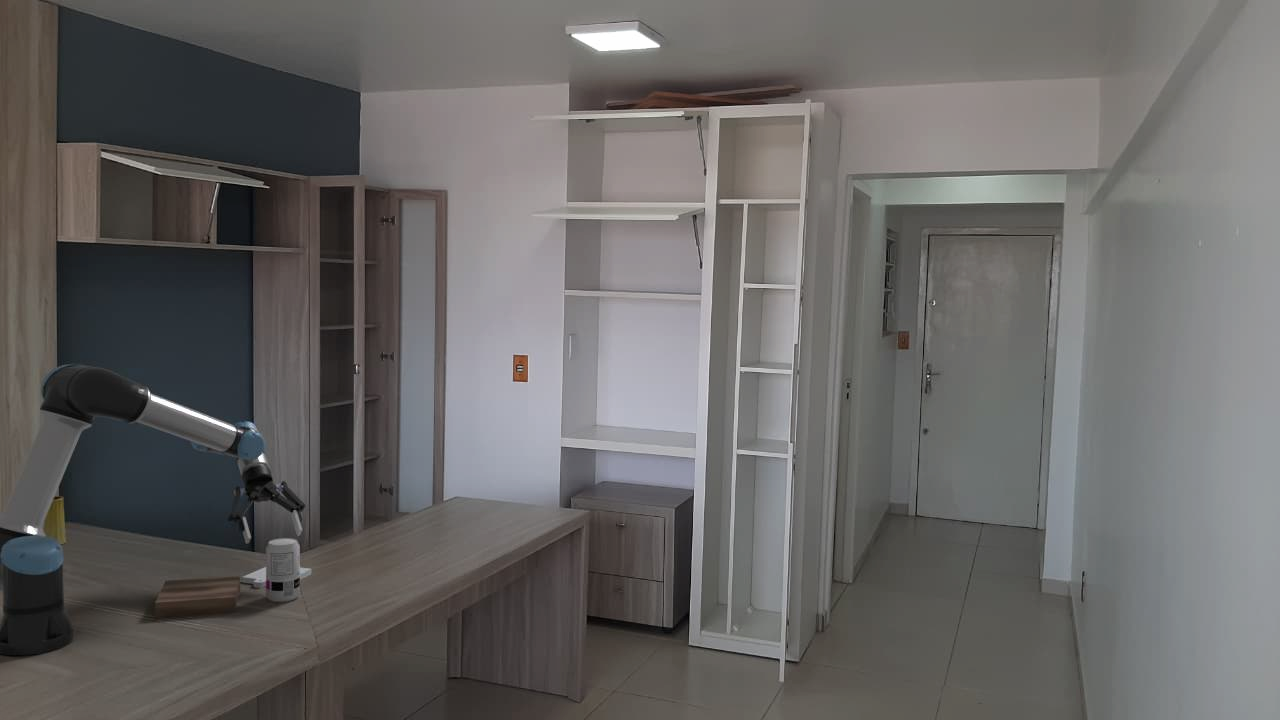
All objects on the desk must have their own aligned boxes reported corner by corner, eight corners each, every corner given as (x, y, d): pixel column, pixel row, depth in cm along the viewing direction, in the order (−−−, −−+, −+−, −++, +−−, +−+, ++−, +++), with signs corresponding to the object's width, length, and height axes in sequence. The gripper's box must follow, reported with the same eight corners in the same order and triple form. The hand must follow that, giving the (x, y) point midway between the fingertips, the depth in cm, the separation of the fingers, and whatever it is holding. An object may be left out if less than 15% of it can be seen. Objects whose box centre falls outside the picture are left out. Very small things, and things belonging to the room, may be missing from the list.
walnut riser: (235, 612, 243) (234, 596, 243) (155, 618, 237) (155, 602, 237) (240, 590, 260) (240, 575, 260) (165, 595, 254) (165, 580, 254)
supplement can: (259, 599, 253) (259, 542, 252) (284, 591, 260) (284, 535, 259) (281, 605, 249) (281, 547, 248) (306, 596, 257) (306, 540, 255)
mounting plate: (277, 568, 282) (277, 561, 281) (316, 572, 278) (316, 566, 278) (236, 586, 264) (236, 579, 264) (277, 591, 261) (277, 584, 261)
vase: (44, 542, 301) (43, 496, 300) (67, 540, 304) (66, 495, 302) (41, 547, 295) (40, 500, 294) (65, 545, 298) (64, 499, 297)
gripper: (296, 474, 281) (316, 537, 271) (205, 484, 265) (223, 551, 255) (303, 459, 276) (324, 522, 266) (210, 468, 260) (229, 536, 250)
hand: (274, 536), depth 260 cm, fingers open, 13 cm apart
